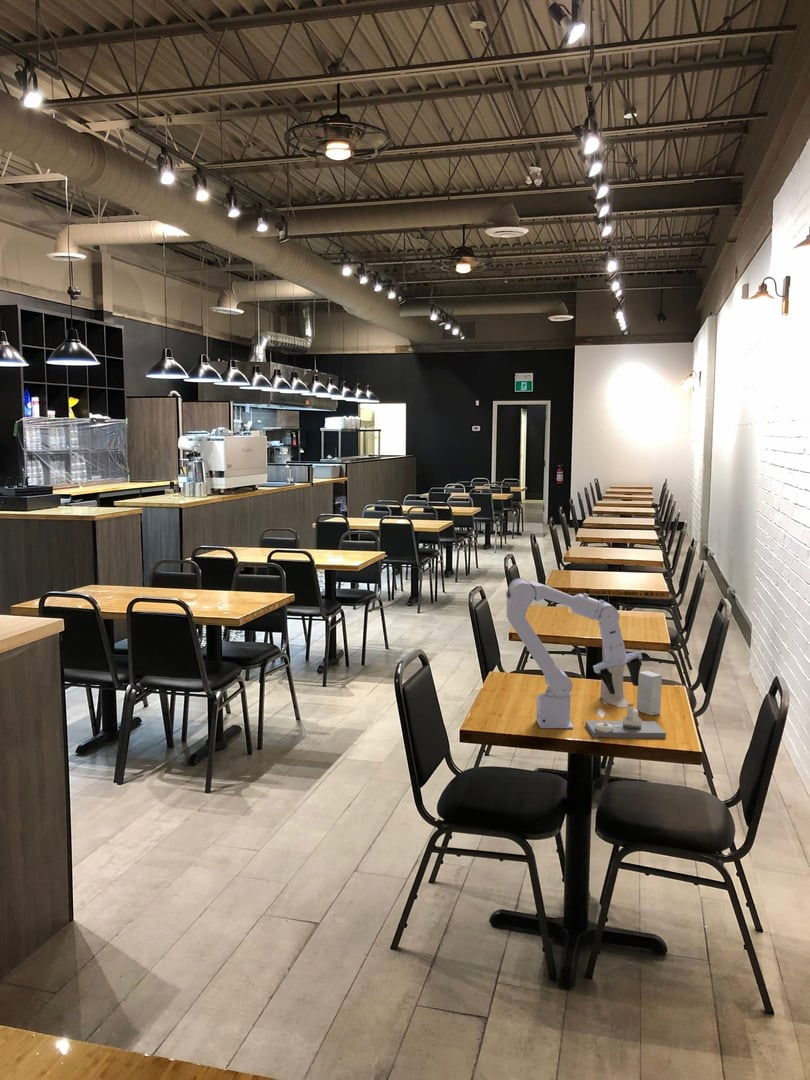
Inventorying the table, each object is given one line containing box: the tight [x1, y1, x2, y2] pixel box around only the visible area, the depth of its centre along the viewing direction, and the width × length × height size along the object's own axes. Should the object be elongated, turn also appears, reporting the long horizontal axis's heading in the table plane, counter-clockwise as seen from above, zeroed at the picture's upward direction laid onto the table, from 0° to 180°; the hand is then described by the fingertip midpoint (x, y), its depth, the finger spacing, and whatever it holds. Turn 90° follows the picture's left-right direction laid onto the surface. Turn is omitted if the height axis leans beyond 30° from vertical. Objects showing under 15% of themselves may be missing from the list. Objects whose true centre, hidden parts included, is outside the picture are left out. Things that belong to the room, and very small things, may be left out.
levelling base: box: [584, 720, 667, 739], centre depth 238 cm, size 20×10×3 cm, turn 90°
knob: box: [622, 702, 643, 729], centre depth 238 cm, size 6×5×6 cm
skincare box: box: [636, 670, 663, 716], centre depth 256 cm, size 6×4×12 cm
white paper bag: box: [599, 641, 630, 709], centre depth 266 cm, size 7×14×20 cm, turn 9°
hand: (623, 689), depth 243 cm, fingers open, 7 cm apart
